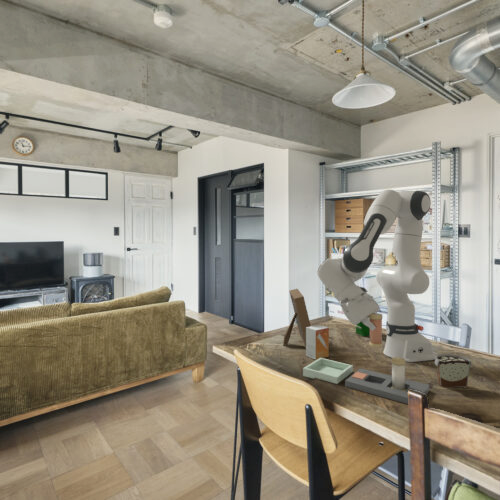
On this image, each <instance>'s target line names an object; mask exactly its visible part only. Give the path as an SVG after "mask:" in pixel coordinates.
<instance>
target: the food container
mask: <svg viewBox="0 0 500 500" xmlns="http://www.w3.org/2000/svg"><path fill="white" fill-rule="evenodd" d="M434 365H435V366H436V372H437V382H438V383H437V384H438V385H439V387H451V388H453V387H464V388H468V383H469V374H470V367H471V366H472V361H471V358H468V357H465V356H462V355H458V354H450V353H445V354H443V353H440V354H438V356H437V357H436V359H435V360H434Z"/></svg>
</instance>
